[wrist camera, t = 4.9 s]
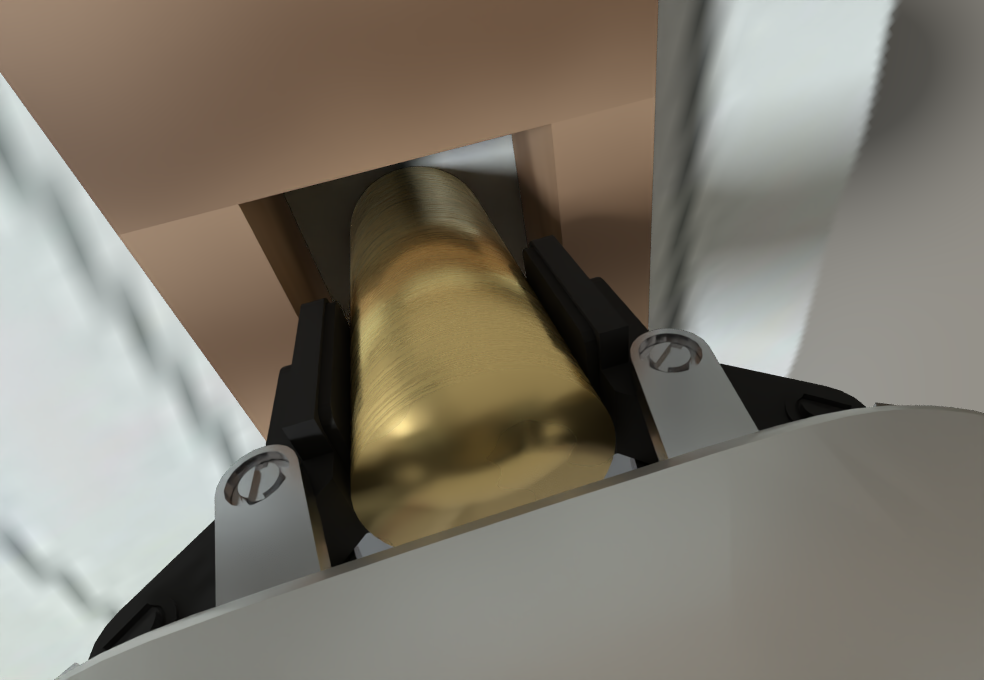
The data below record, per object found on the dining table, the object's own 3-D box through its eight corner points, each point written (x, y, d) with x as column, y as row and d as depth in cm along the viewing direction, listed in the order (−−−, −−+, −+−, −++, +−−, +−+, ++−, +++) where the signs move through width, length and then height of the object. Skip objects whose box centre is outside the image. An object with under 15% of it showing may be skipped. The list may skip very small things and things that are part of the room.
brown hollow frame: (52, -28, 10) (-78, -37, 7) (576, -139, 11) (664, -190, 8) (332, 445, 20) (329, 529, 17) (600, 364, 21) (645, 429, 18)
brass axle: (328, 187, 14) (301, 430, 6) (470, 150, 15) (612, 336, 7) (376, 307, 17) (399, 582, 9) (495, 274, 17) (617, 511, 9)
